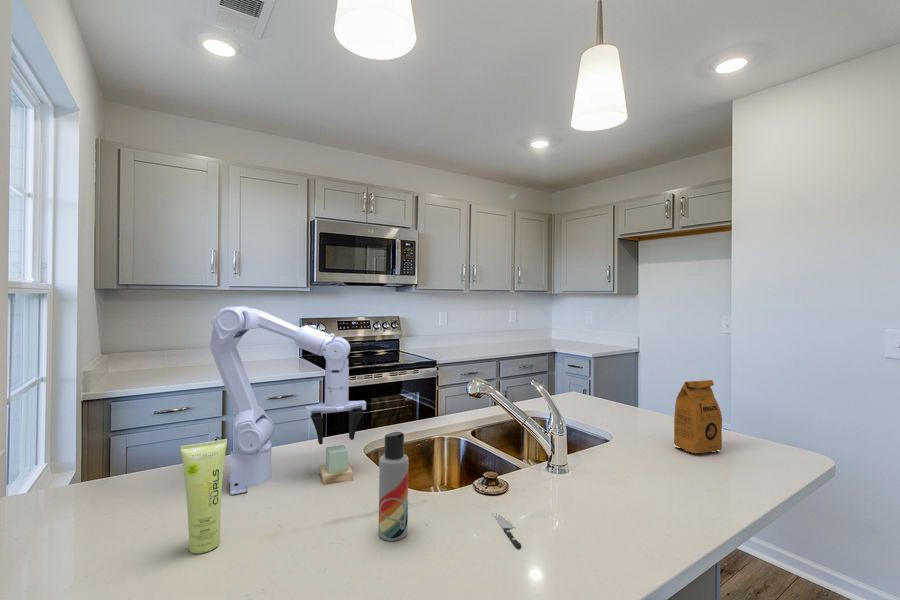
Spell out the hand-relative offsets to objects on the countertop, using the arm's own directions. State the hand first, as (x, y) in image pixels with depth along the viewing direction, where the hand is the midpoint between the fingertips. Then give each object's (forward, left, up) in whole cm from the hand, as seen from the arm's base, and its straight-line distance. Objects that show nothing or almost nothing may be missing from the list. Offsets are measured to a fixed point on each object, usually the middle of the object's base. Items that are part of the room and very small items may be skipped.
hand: (336, 440), depth 107 cm
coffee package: (+106, -25, -11) cm, 110 cm away
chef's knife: (+28, -34, -11) cm, 45 cm away
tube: (-28, -17, -11) cm, 34 cm away
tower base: (0, 0, -11) cm, 11 cm away
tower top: (0, 0, -9) cm, 9 cm away
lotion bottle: (+5, -28, -11) cm, 30 cm away
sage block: (0, 0, -7) cm, 7 cm away
